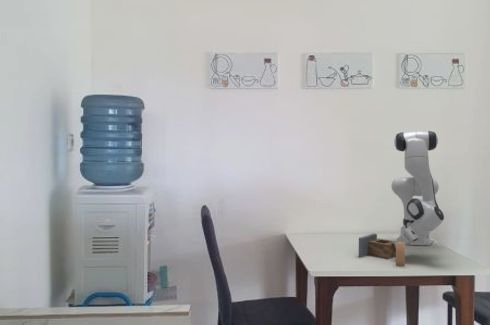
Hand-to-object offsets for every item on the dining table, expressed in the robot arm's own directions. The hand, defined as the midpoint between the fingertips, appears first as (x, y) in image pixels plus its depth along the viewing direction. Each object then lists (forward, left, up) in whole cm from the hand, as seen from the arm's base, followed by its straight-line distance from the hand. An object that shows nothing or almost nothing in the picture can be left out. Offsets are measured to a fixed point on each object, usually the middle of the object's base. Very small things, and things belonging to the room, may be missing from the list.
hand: (396, 248), depth 224 cm
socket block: (+3, -6, -4) cm, 8 cm away
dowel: (+15, +8, -4) cm, 18 cm away
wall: (+7, -13, -4) cm, 15 cm away
